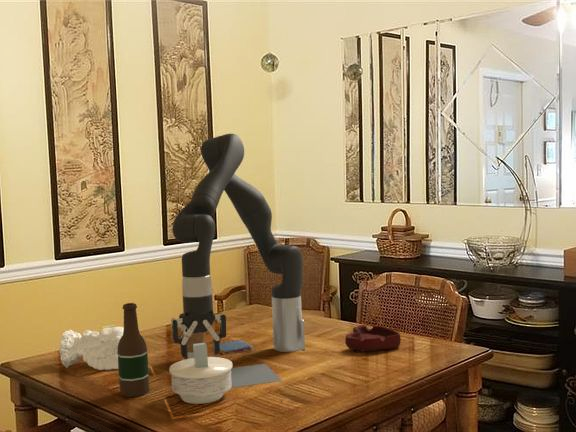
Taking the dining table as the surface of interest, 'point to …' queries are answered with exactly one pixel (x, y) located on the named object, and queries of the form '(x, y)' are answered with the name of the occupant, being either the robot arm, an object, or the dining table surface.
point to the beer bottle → (132, 356)
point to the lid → (200, 365)
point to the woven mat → (234, 347)
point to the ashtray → (372, 338)
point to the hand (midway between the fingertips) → (200, 356)
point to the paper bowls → (202, 388)
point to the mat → (252, 375)
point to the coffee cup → (192, 339)
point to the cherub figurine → (92, 348)
